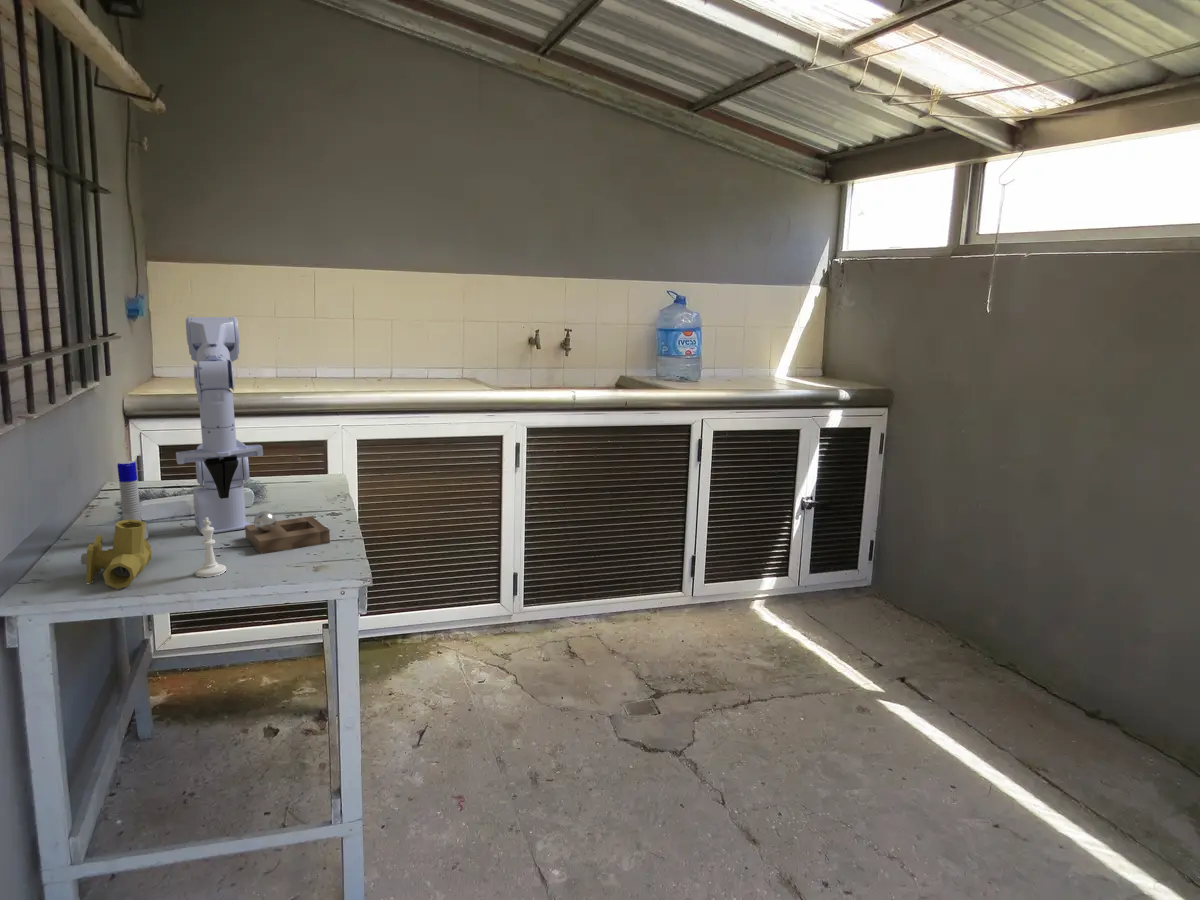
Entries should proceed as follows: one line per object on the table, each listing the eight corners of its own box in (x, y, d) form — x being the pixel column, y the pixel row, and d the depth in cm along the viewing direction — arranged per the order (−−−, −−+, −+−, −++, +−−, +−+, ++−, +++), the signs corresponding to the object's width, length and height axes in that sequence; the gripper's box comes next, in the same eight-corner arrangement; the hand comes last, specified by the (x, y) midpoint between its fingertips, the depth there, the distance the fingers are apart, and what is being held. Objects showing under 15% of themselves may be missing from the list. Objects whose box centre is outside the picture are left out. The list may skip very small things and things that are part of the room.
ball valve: (153, 567, 147) (90, 564, 144) (156, 513, 145) (92, 509, 141) (137, 596, 135) (68, 594, 132) (140, 538, 133) (70, 535, 130)
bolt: (142, 543, 157) (114, 544, 157) (153, 536, 162) (126, 536, 162) (134, 465, 154) (106, 465, 154) (145, 459, 159) (118, 459, 159)
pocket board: (260, 554, 152) (259, 541, 152) (245, 537, 162) (245, 525, 161) (329, 542, 160) (329, 530, 159) (312, 527, 169) (311, 516, 169)
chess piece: (206, 579, 139) (201, 523, 137) (189, 574, 141) (184, 518, 139) (232, 571, 143) (228, 516, 141) (215, 566, 145) (211, 512, 143)
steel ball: (257, 535, 155) (255, 515, 155) (252, 530, 158) (250, 510, 158) (278, 532, 158) (277, 512, 157) (273, 527, 161) (272, 507, 160)
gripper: (177, 432, 143) (184, 507, 145) (264, 425, 151) (269, 496, 153) (171, 426, 148) (178, 498, 151) (255, 420, 156) (260, 488, 159)
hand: (223, 497), depth 153 cm, fingers closed
